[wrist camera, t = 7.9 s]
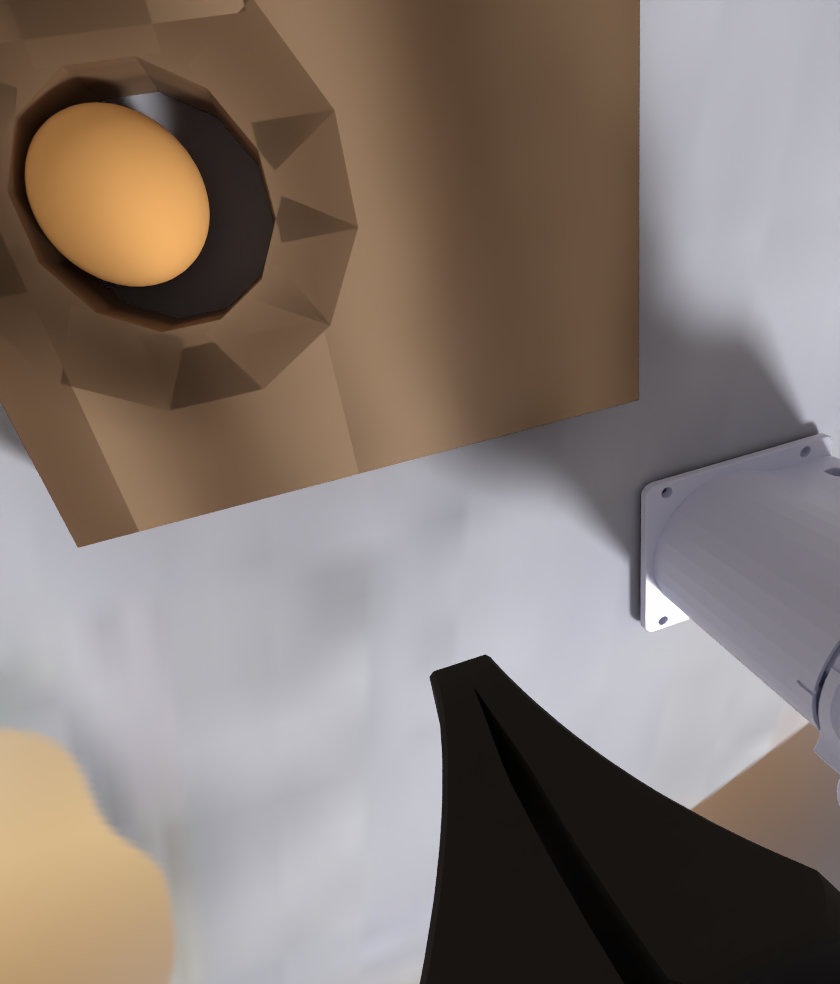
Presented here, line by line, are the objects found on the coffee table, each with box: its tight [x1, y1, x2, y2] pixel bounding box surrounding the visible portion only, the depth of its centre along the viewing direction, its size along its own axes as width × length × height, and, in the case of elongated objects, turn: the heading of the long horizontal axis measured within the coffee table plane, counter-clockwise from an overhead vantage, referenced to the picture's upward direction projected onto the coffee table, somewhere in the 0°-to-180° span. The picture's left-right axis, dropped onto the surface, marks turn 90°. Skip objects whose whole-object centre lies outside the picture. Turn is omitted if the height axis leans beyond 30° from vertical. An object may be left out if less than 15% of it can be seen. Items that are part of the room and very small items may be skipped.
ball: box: [25, 102, 210, 286], centre depth 14 cm, size 4×4×4 cm
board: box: [0, 0, 640, 547], centre depth 15 cm, size 18×16×3 cm
